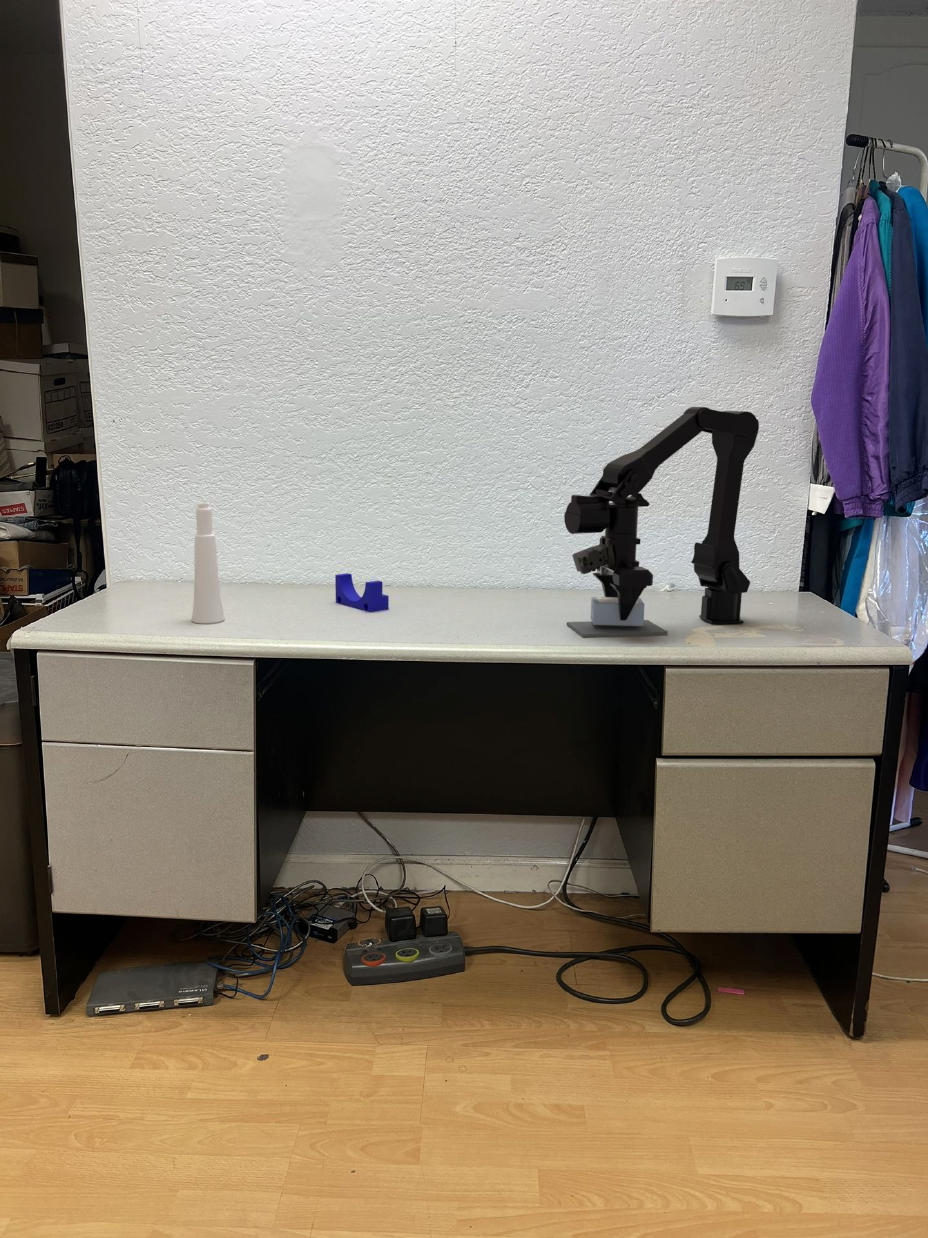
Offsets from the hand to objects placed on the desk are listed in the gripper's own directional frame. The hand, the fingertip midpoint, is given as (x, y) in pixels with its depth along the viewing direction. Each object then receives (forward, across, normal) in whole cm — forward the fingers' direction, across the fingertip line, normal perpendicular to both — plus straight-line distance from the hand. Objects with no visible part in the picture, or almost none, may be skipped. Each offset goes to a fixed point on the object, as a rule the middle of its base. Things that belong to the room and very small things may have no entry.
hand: (617, 616), depth 183 cm
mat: (+3, 0, 0) cm, 3 cm away
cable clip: (+3, -27, -45) cm, 52 cm away
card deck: (+1, 0, 0) cm, 1 cm away
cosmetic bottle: (+3, -17, -74) cm, 76 cm away
